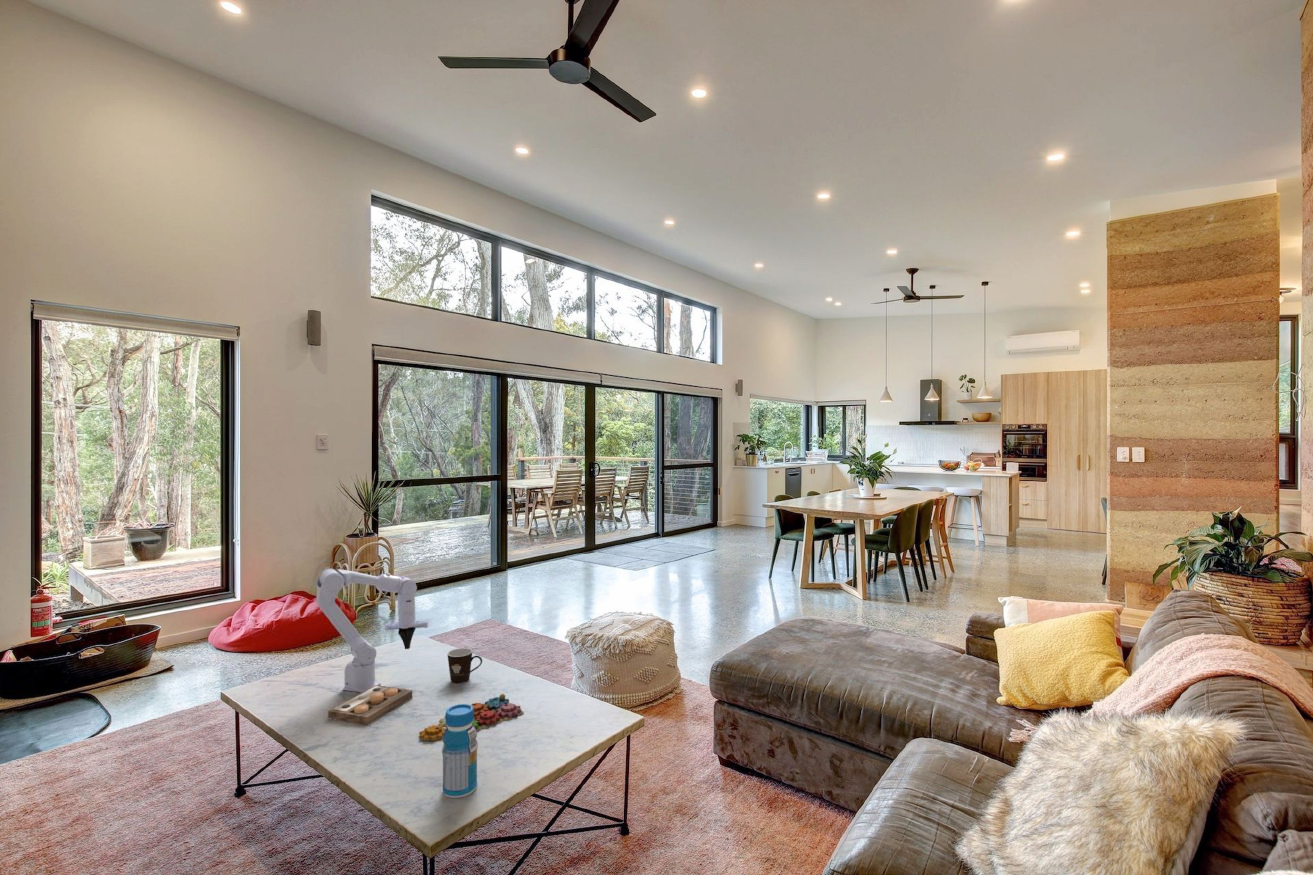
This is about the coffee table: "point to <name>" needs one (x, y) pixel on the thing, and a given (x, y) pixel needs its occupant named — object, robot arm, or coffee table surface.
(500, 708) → the gear puzzle
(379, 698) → the button
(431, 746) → the coffee table surface
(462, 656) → the coffee mug
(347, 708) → the button board
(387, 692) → the button
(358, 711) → the button
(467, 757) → the beverage bottle
